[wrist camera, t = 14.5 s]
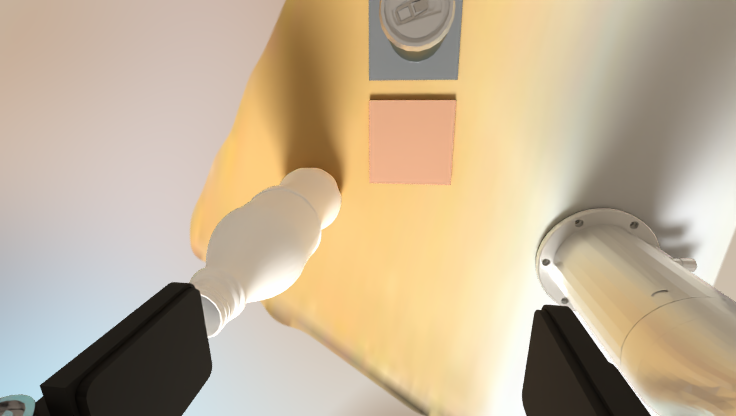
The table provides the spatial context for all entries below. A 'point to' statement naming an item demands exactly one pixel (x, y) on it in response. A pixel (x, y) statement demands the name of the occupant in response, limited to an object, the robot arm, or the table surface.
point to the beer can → (416, 26)
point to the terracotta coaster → (411, 141)
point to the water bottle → (265, 244)
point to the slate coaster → (396, 68)
